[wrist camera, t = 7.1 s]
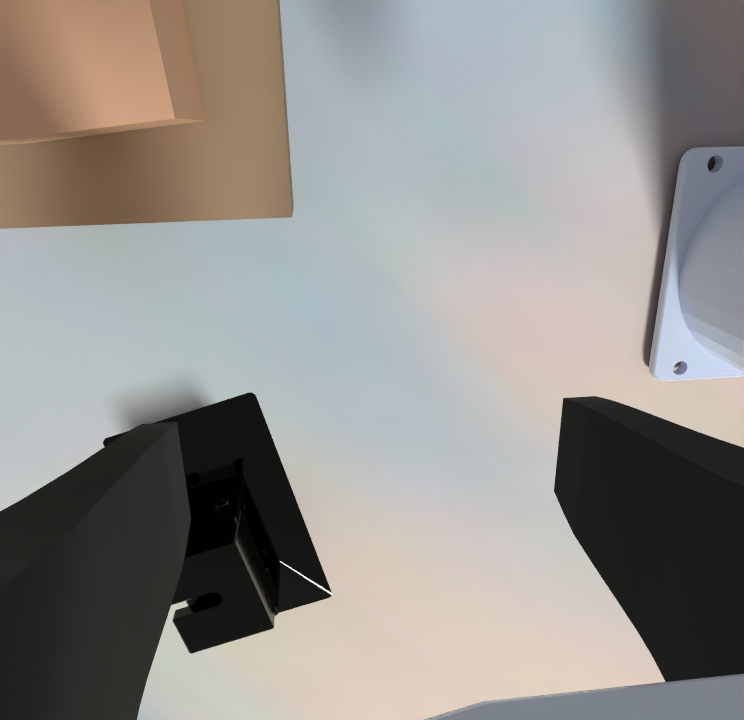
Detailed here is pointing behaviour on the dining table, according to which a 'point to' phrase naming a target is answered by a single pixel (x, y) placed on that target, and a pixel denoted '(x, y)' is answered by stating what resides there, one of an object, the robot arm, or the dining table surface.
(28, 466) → the dining table surface
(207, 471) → the black slotted bracket
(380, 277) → the dining table surface
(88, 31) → the terracotta cube
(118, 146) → the walnut slab
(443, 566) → the dining table surface
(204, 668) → the dining table surface
